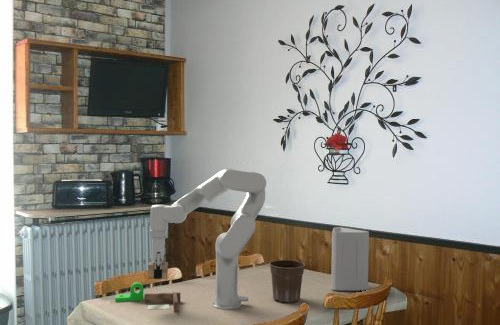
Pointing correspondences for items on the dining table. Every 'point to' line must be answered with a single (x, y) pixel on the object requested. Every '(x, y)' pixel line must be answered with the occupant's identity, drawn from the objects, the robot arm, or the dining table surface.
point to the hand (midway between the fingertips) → (157, 276)
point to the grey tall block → (349, 259)
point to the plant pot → (286, 280)
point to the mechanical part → (131, 294)
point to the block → (152, 266)
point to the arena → (162, 300)
